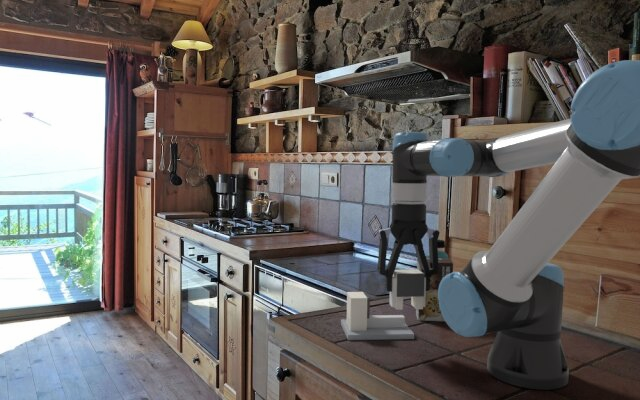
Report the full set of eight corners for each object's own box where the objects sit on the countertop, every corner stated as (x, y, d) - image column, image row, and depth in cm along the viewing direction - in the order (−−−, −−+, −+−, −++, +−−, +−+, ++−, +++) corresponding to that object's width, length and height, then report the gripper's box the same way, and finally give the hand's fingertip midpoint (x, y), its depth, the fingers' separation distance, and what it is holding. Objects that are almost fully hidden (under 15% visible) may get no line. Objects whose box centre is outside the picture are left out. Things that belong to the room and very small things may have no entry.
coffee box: (448, 315, 140) (450, 257, 139) (452, 322, 134) (454, 262, 132) (415, 313, 141) (417, 256, 140) (417, 320, 134) (419, 261, 133)
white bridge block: (417, 304, 115) (418, 269, 115) (423, 309, 111) (424, 273, 110) (391, 304, 115) (392, 270, 114) (396, 310, 110) (397, 274, 110)
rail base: (414, 338, 120) (415, 301, 120) (348, 340, 119) (348, 301, 118) (401, 323, 132) (402, 288, 132) (340, 323, 131) (341, 289, 130)
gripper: (444, 201, 116) (442, 300, 117) (363, 201, 114) (362, 302, 116) (456, 203, 109) (454, 309, 110) (370, 203, 107) (368, 310, 108)
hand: (407, 305), depth 113 cm, fingers closed on white bridge block, 6 cm apart
